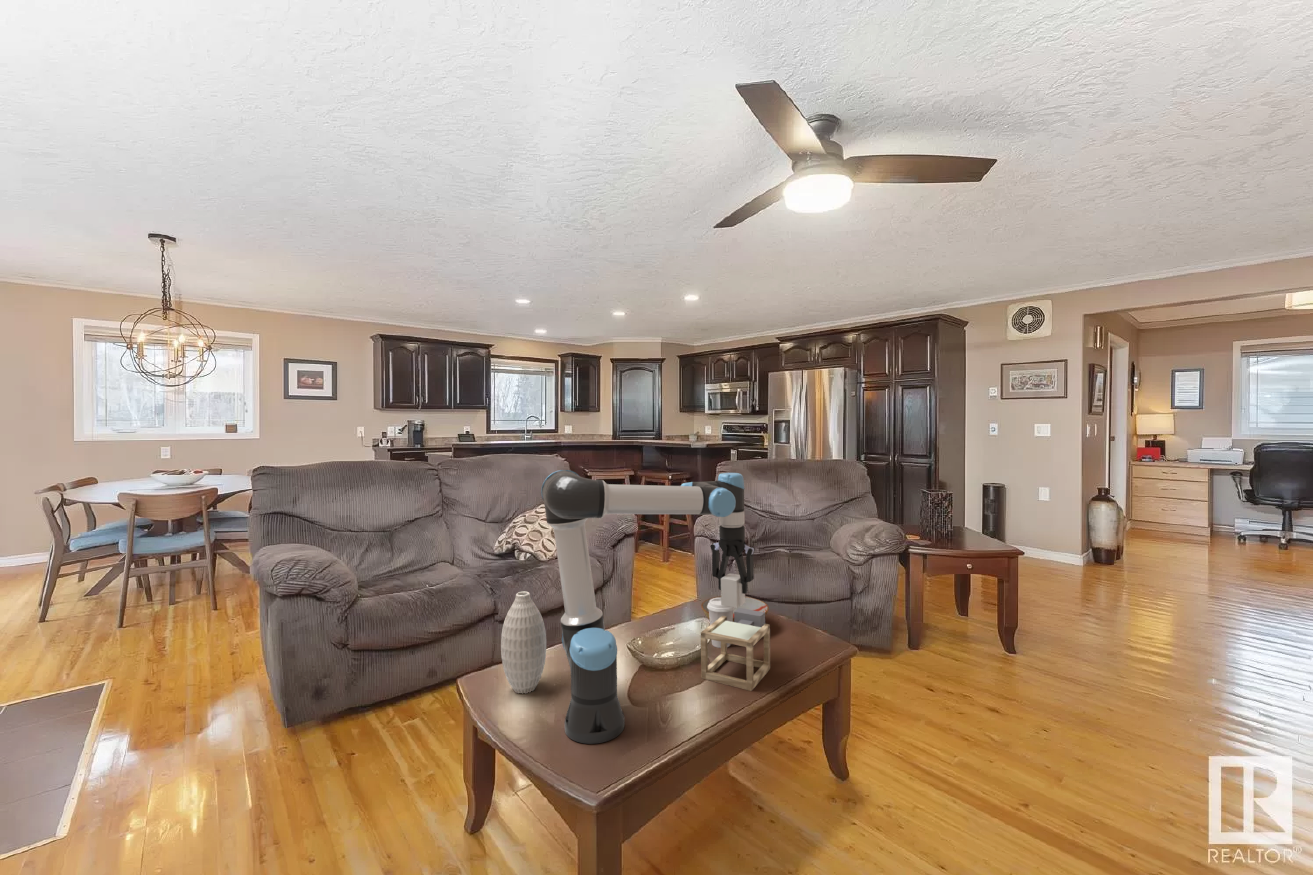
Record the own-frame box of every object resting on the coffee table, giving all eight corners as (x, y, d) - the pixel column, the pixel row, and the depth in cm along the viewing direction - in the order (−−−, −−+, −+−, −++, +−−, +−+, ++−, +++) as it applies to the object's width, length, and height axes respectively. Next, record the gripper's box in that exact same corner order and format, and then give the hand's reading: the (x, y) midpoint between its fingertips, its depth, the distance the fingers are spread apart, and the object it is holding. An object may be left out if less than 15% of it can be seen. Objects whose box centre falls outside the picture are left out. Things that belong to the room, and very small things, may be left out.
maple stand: (751, 691, 158) (751, 642, 157) (701, 678, 166) (700, 632, 166) (770, 668, 172) (769, 624, 171) (722, 658, 180) (722, 615, 179)
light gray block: (736, 607, 161) (736, 580, 161) (721, 604, 164) (720, 578, 163) (744, 601, 166) (744, 575, 166) (729, 599, 169) (729, 573, 168)
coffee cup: (739, 642, 192) (739, 599, 192) (727, 652, 184) (727, 607, 184) (714, 636, 198) (714, 595, 197) (702, 646, 190) (702, 602, 189)
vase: (493, 689, 161) (491, 593, 160) (530, 674, 170) (528, 583, 169) (518, 704, 152) (516, 603, 151) (555, 687, 161) (553, 592, 160)
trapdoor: (747, 650, 160) (747, 633, 160) (709, 642, 166) (709, 626, 166) (769, 628, 177) (769, 613, 177) (734, 621, 183) (734, 607, 183)
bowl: (698, 638, 196) (698, 616, 196) (704, 613, 221) (703, 593, 221) (770, 642, 192) (770, 619, 192) (767, 616, 217) (767, 596, 217)
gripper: (765, 525, 162) (766, 603, 163) (710, 520, 172) (711, 594, 173) (755, 530, 156) (757, 611, 157) (699, 524, 166) (700, 601, 166)
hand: (733, 602), depth 165 cm, fingers closed on light gray block, 5 cm apart
